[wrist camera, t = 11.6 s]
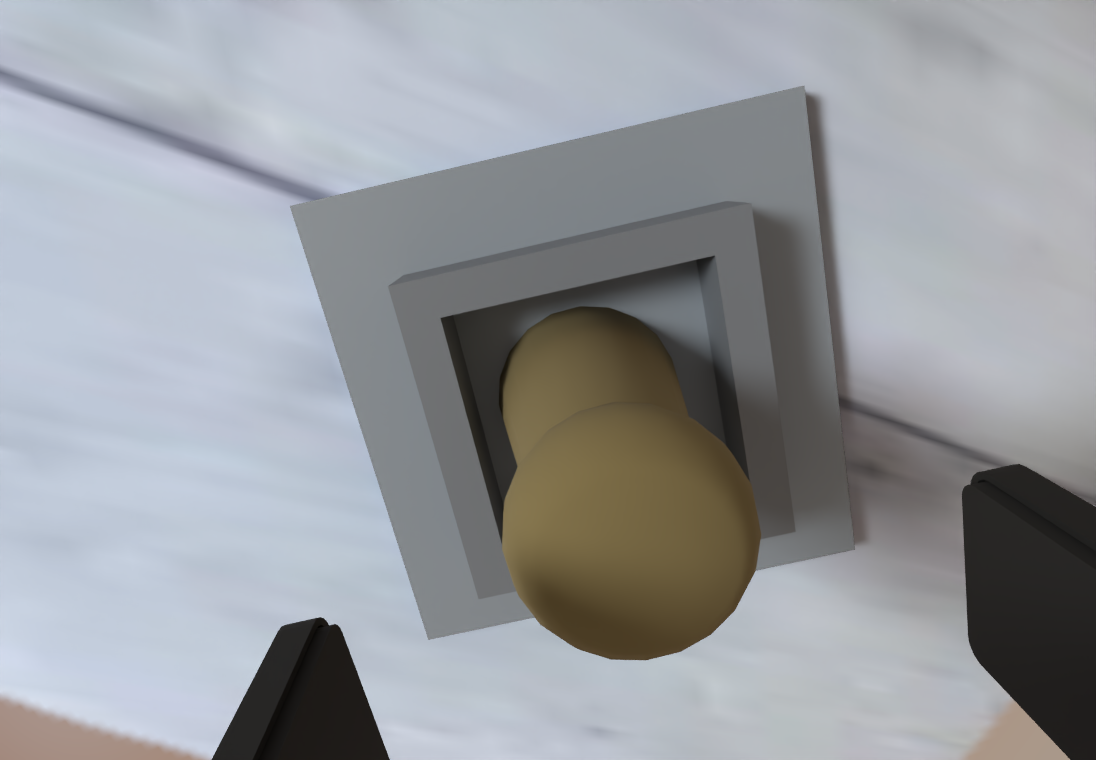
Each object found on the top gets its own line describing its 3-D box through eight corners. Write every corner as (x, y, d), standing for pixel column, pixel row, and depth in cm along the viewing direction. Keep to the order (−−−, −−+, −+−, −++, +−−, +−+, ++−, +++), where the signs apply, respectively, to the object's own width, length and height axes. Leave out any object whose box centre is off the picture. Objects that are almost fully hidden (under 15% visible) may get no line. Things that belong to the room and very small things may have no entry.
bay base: (298, 205, 22) (258, 209, 19) (794, 89, 21) (841, 72, 18) (431, 626, 26) (418, 687, 23) (845, 538, 26) (890, 588, 22)
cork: (542, 503, 24) (557, 756, 13) (467, 351, 22) (415, 501, 12) (703, 436, 23) (850, 643, 13) (637, 275, 22) (743, 360, 11)
